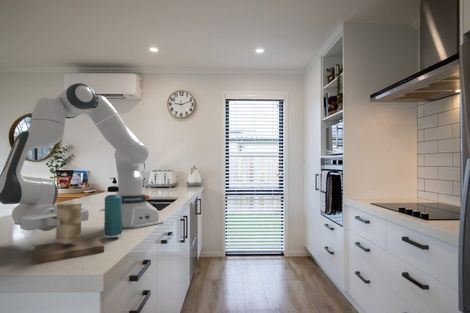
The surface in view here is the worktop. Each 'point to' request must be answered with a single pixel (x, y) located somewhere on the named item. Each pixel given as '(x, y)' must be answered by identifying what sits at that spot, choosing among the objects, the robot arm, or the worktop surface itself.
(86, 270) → the worktop surface
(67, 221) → the oak block
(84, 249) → the walnut board
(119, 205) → the beverage bottle
